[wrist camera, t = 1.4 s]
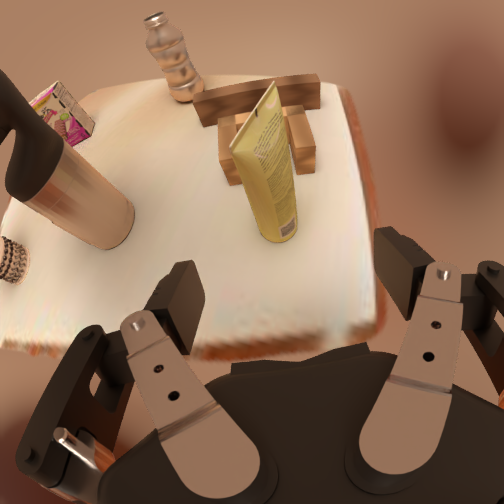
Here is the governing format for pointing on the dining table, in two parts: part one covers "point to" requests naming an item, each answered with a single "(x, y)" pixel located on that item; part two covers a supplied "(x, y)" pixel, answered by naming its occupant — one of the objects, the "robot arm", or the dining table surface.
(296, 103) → the wooden plank
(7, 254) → the decorative candle
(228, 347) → the dining table surface
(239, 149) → the tube
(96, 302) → the dining table surface
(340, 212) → the dining table surface
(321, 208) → the dining table surface
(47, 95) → the candy bar box
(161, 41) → the plastic bottle
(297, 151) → the block
